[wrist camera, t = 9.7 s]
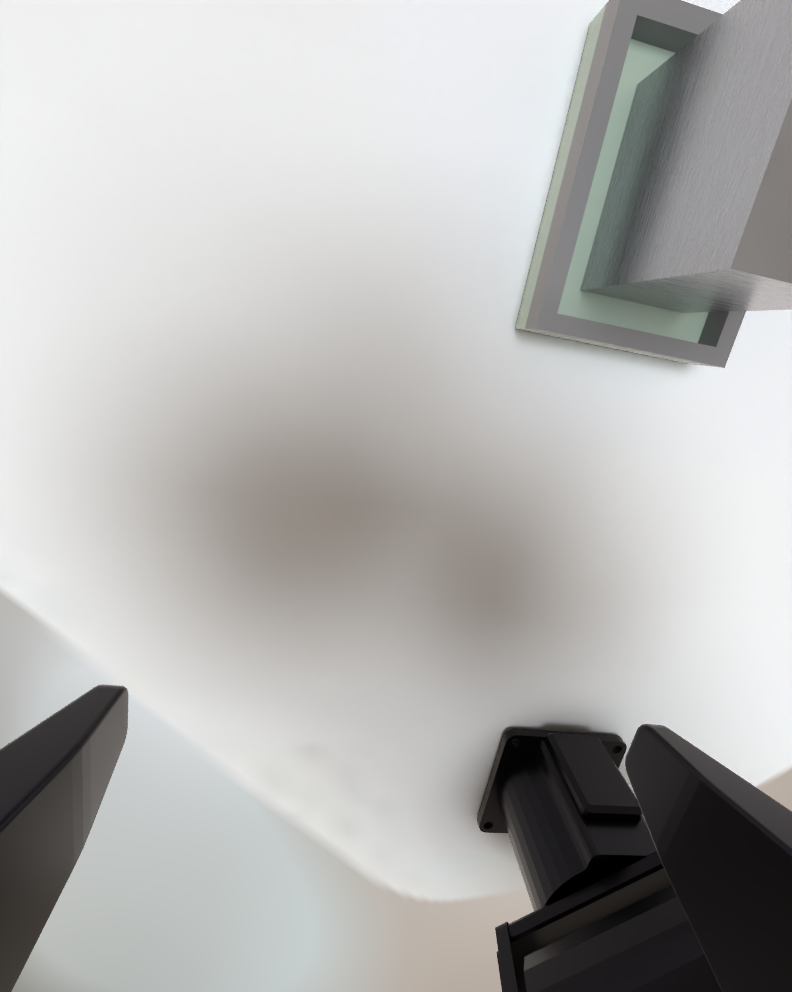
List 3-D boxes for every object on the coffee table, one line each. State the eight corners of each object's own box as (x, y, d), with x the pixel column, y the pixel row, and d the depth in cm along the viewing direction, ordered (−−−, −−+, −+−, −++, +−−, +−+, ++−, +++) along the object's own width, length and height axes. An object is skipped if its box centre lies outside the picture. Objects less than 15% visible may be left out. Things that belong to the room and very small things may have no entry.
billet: (681, 312, 18) (883, 306, 11) (580, 290, 17) (730, 268, 10) (748, 118, 16) (1036, -28, 9) (637, 84, 15) (862, -98, 9)
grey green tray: (687, 363, 19) (724, 367, 18) (515, 328, 18) (535, 328, 16) (786, 85, 17) (842, 55, 15) (590, 23, 15) (624, -19, 14)
